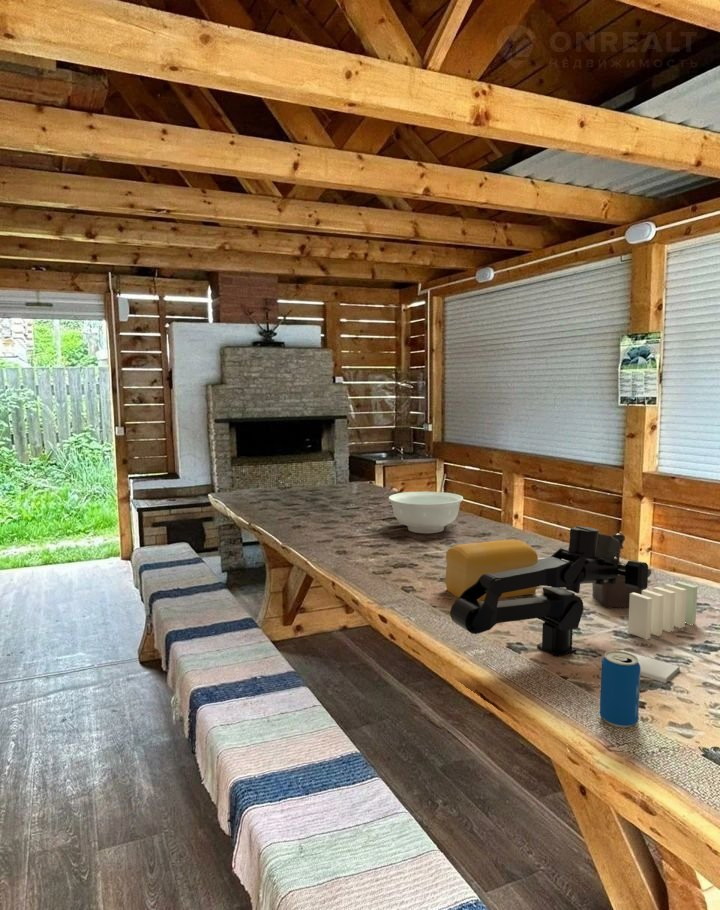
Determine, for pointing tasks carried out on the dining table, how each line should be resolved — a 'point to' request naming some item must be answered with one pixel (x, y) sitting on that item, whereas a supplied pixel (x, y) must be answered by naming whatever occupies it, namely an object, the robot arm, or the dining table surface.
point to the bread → (486, 563)
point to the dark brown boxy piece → (614, 586)
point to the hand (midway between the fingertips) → (634, 568)
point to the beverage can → (620, 689)
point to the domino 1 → (640, 615)
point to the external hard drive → (656, 668)
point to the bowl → (425, 510)
